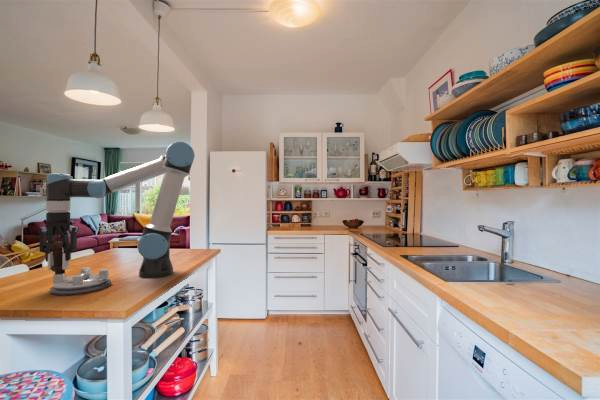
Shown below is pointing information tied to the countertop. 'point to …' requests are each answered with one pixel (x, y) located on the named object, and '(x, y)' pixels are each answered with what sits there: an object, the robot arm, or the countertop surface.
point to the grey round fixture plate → (80, 280)
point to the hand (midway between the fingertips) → (58, 268)
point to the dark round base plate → (81, 291)
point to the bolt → (57, 256)
